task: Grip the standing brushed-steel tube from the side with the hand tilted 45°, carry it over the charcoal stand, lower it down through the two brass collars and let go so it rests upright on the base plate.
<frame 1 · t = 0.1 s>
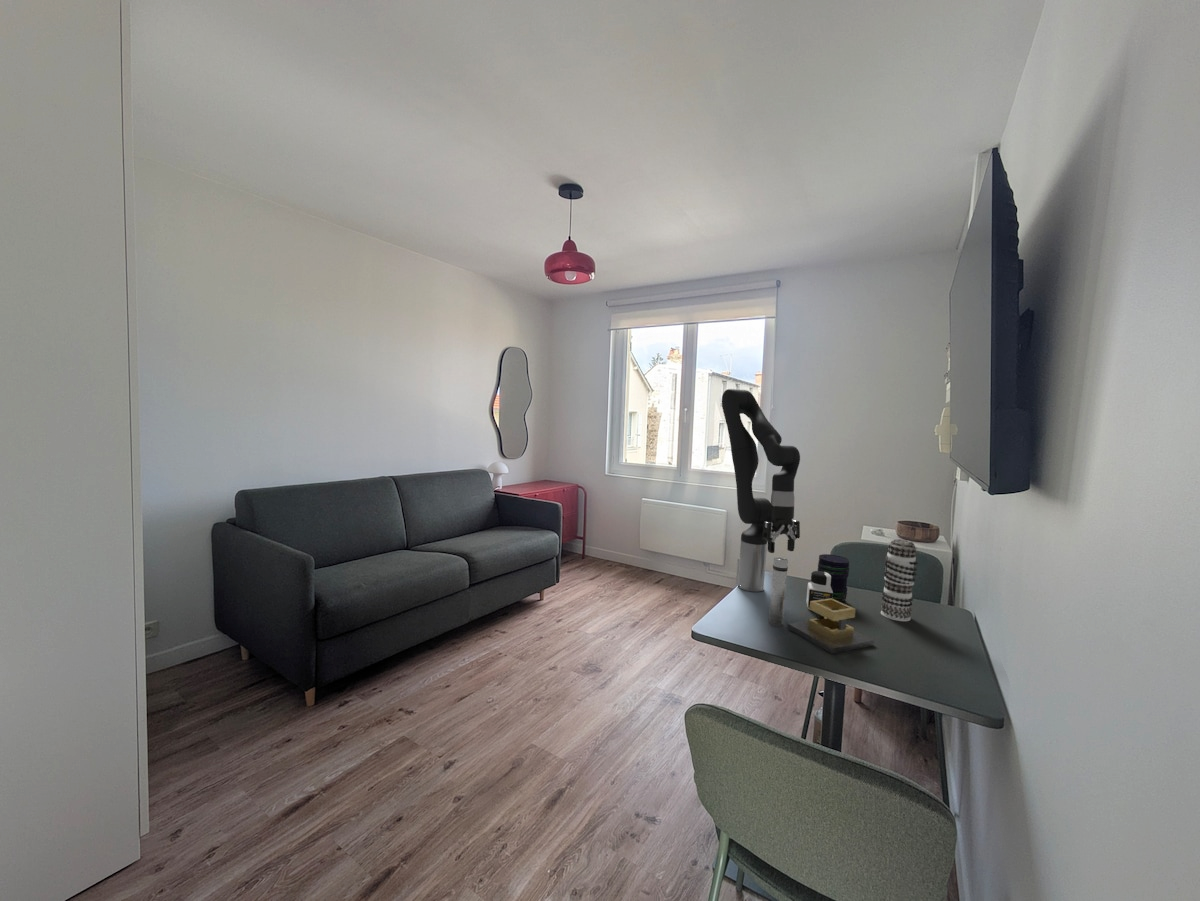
hand: (780, 551, 168), 17 cm above the table, tool pointing down, fingers open, 8 cm apart
storage jar: (830, 600, 173), on the table
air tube: (775, 623, 150), on the table
collar stand: (829, 636, 143), on the table
decorative candle: (895, 616, 161), on the table
medicine bottle: (818, 608, 165), on the table
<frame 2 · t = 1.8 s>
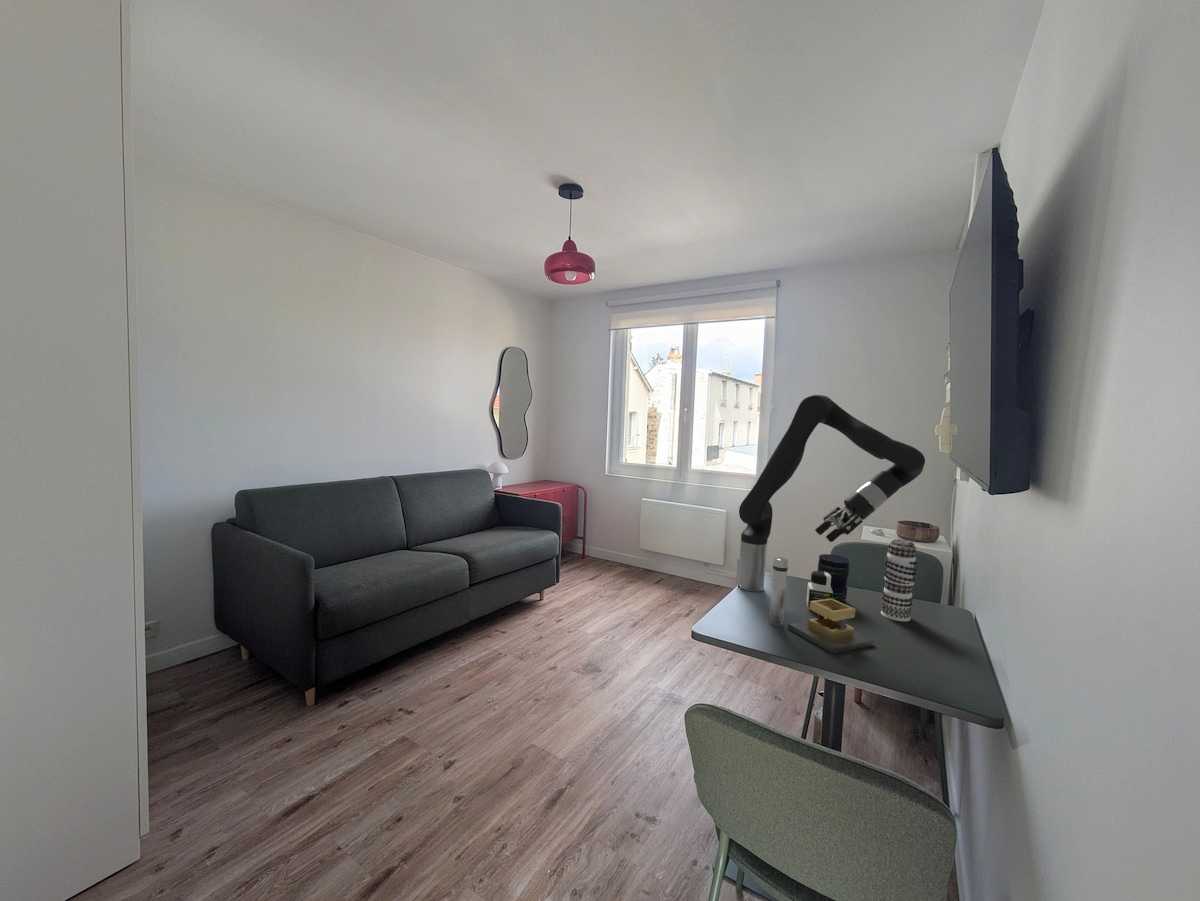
hand: (822, 536, 147), 28 cm above the table, tool tilted 45°, fingers open, 8 cm apart
nothing on the table moved.
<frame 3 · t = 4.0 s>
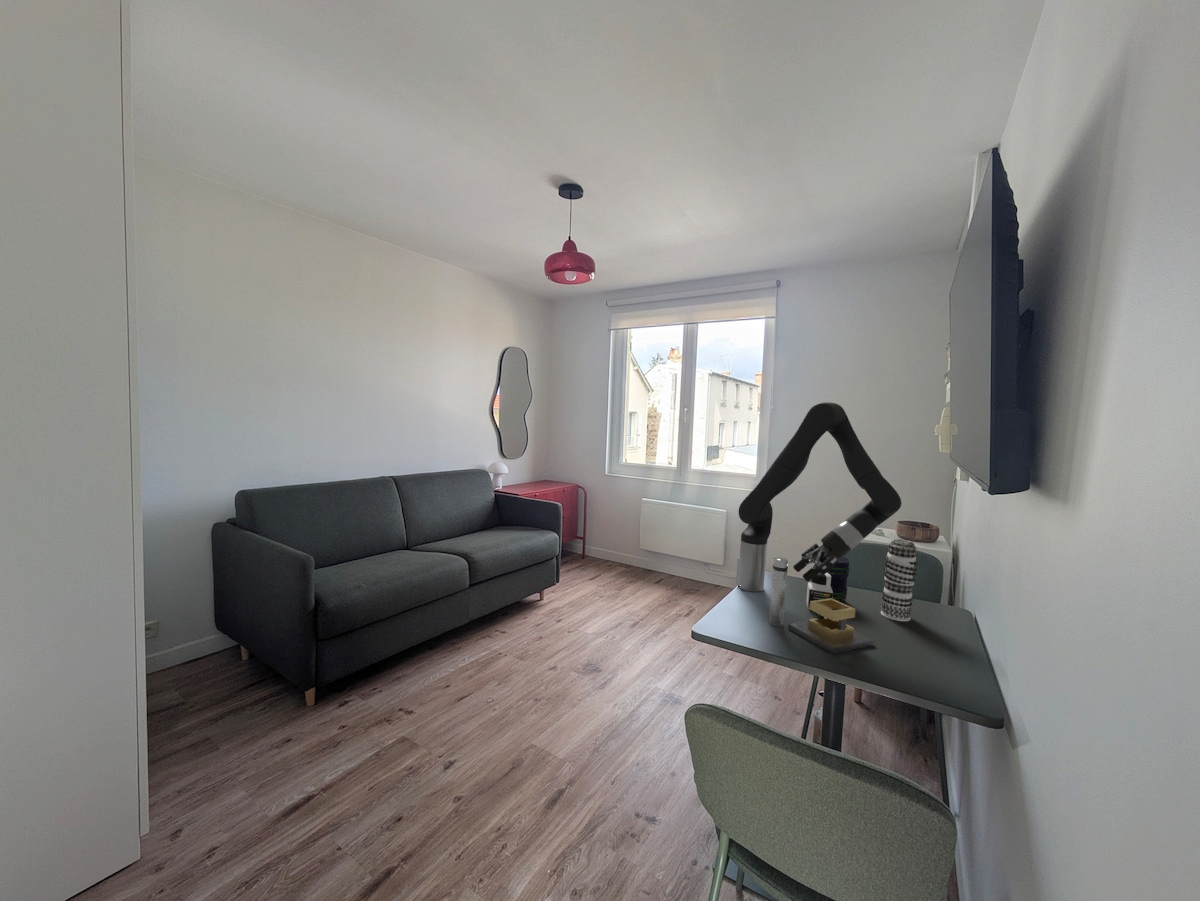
hand: (799, 574, 149), 16 cm above the table, tool tilted 45°, fingers open, 8 cm apart
nothing on the table moved.
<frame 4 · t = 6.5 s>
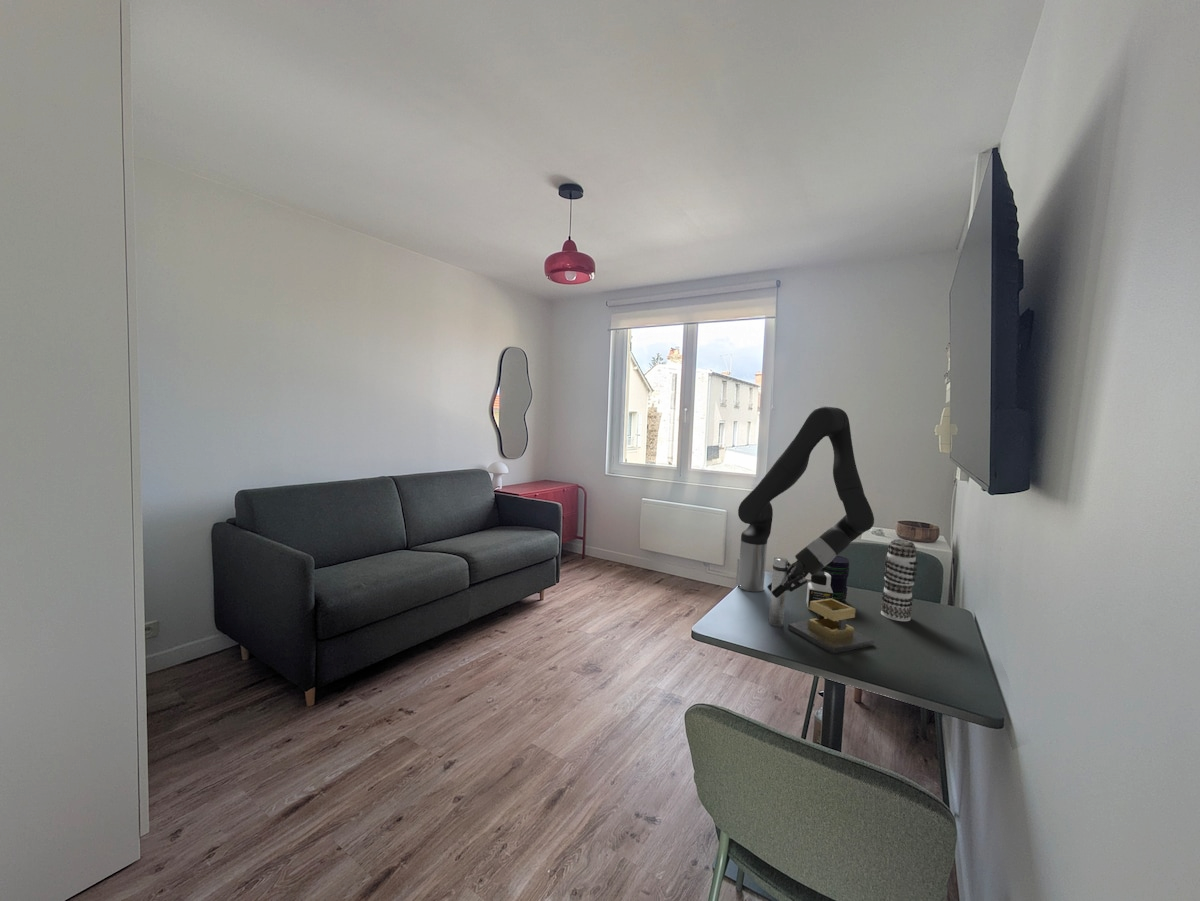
hand: (771, 592, 150), 10 cm above the table, tool tilted 45°, fingers closed on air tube, 4 cm apart
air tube: (775, 623, 150), on the table, touching gripper
everything else where it was.
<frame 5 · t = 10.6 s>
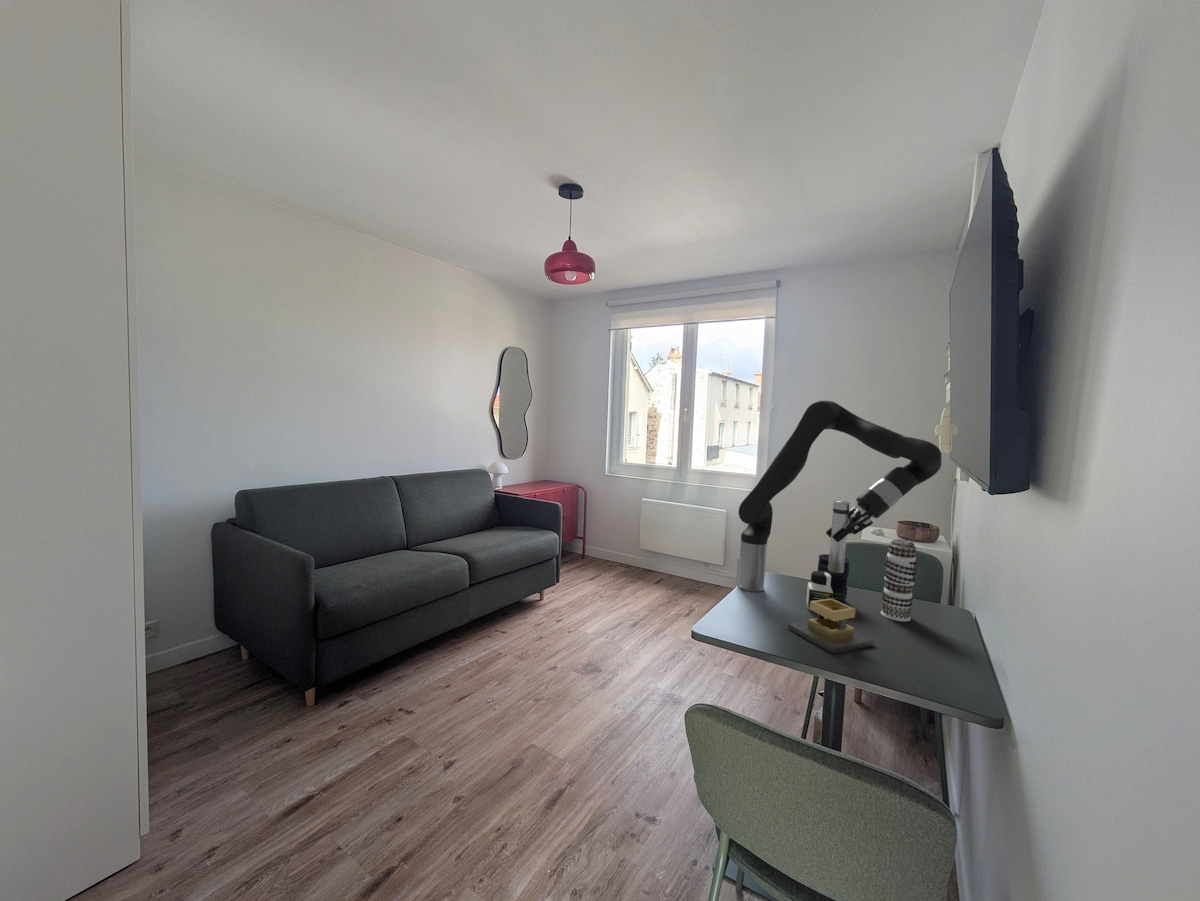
hand: (831, 537, 141), 29 cm above the table, tool tilted 45°, fingers closed on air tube, 4 cm apart
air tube: (835, 570, 141), point 20 cm above the table, touching gripper
everything else where it was.
when the fingers open (13 cm above the table, at t = 14.7 s): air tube drops 1 cm, resting on collar stand.
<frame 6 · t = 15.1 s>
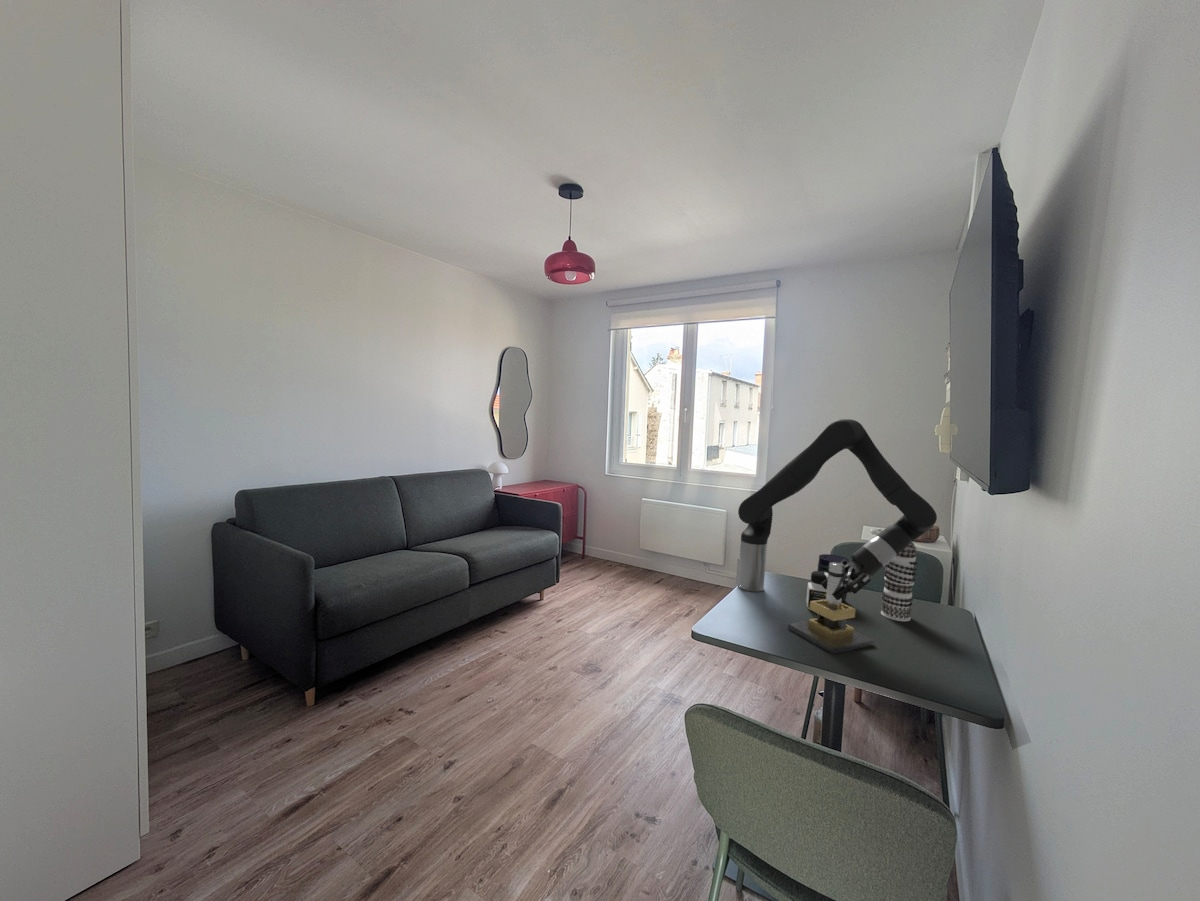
hand: (828, 592, 142), 13 cm above the table, tool tilted 45°, fingers open, 8 cm apart
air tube: (830, 631, 143), point 2 cm above the table, touching collar stand
everything else where it was.
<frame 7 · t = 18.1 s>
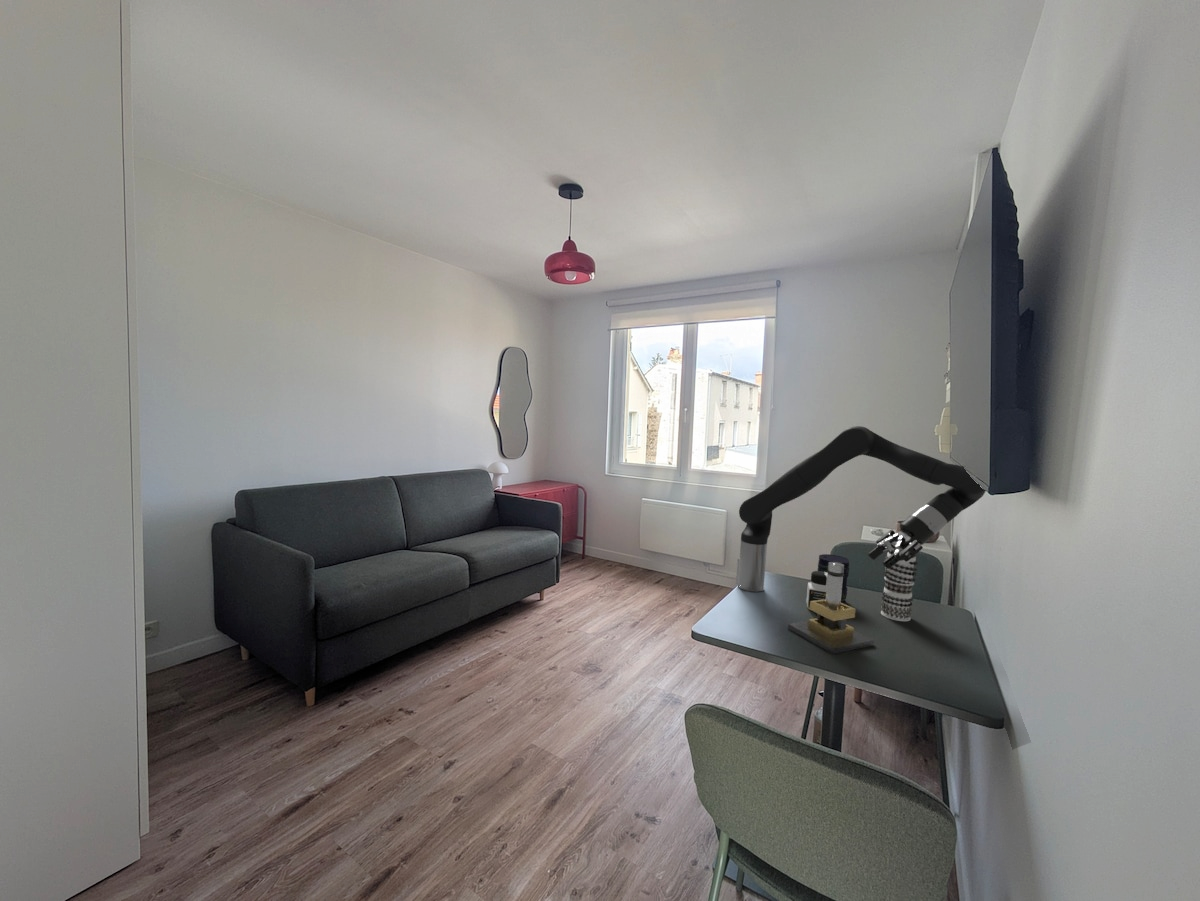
hand: (877, 561, 140), 23 cm above the table, tool tilted 45°, fingers open, 8 cm apart
nothing on the table moved.
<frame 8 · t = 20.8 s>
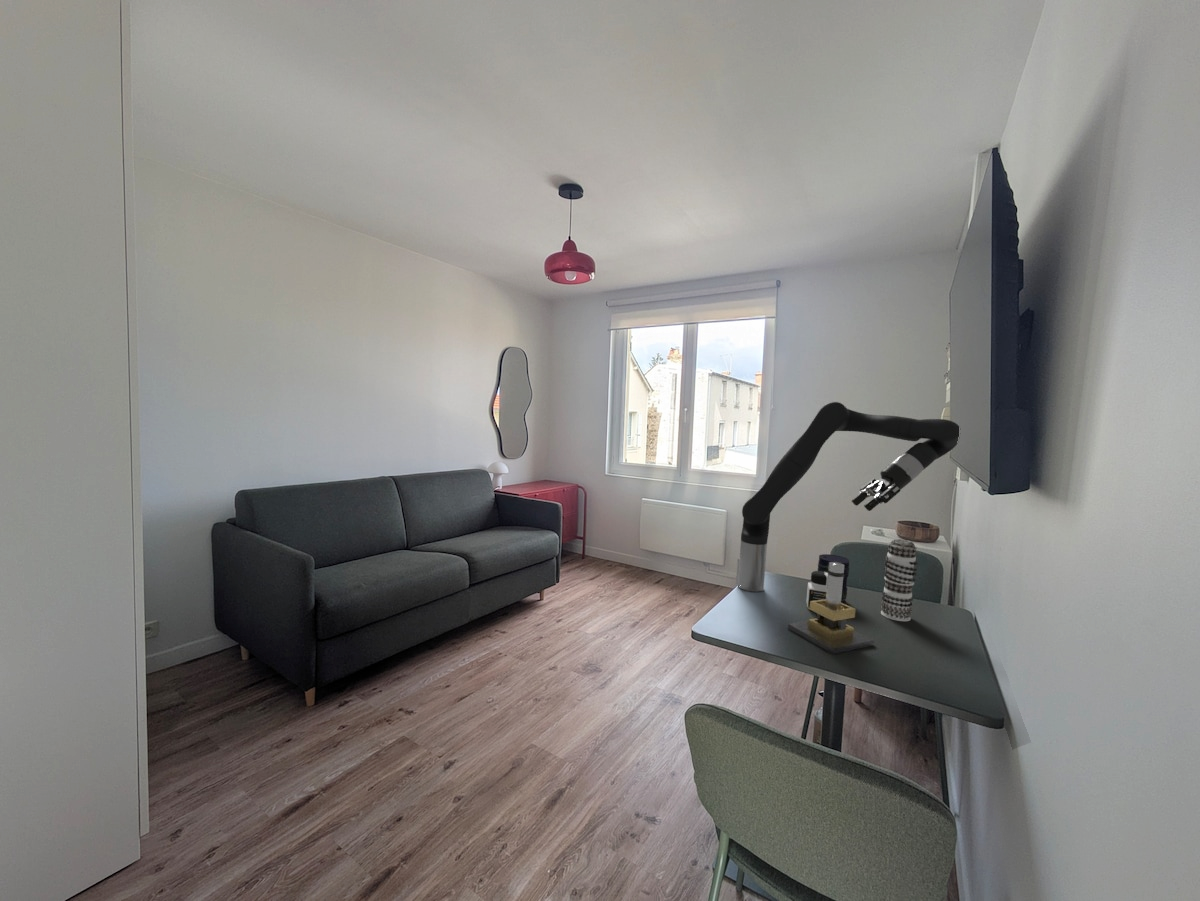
hand: (859, 506, 152), 37 cm above the table, tool tilted 45°, fingers open, 8 cm apart
nothing on the table moved.
at the end: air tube 0.1 cm off-centre on the collar stand, point 1.5 cm above the collar stand's base; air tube tilted 0°; the gripper is holding nothing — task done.
